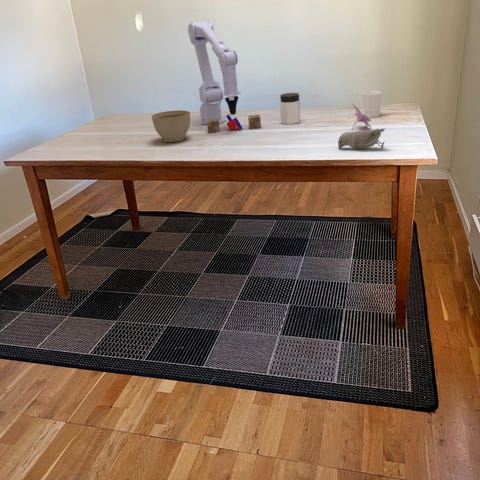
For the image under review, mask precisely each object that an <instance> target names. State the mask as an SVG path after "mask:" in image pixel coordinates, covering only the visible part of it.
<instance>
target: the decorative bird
mask: <svg viewBox="0 0 480 480" xmlns="http://www.w3.org/2000/svg"><path fill="white" fill-rule="evenodd" d="M385 130H386V127H385V128H376V129H368V130H367V129H365V130H356V131H352V132H351V131H346V132H345V131H344V132H343V133H341V134H340V136H339V138H338V141H337V147H338V149H341V148H343V147H347V146H348V147H350V148H352V149H366V148H370V147H371V148H372V147H373V146H375V145H378V146H379V147H380V150H383V147H384V145H385V141H383V142H380V140H379V139H380V137H381V135H382V133H384V132H385ZM380 144H381V145H380Z"/></svg>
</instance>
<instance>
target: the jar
mask: <svg viewBox="0 0 480 480" xmlns="http://www.w3.org/2000/svg"><path fill="white" fill-rule="evenodd" d="M279 98H280V101H279V109H280V110H279V111H280V123H281V124H284V125H295V124H299V123H300V122H301V100H300V94H299V93H298V92H287V93H282V94H280V97H279Z"/></svg>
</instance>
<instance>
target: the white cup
mask: <svg viewBox="0 0 480 480" xmlns="http://www.w3.org/2000/svg"><path fill="white" fill-rule="evenodd" d="M382 95H383V91H379V90H371V91H364V92H362V107H363V114H364V115H366V116H367V117H368V118H370V119H371V118H379V117H380V114H381V105H382Z"/></svg>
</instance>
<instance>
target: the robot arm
mask: <svg viewBox="0 0 480 480" xmlns="http://www.w3.org/2000/svg"><path fill="white" fill-rule="evenodd" d="M214 29H215V28H214V24H213V22H212V21H211V20H210V19H208V20H202V21H201V20H200V21H195V22H192V21H191V22H189V24H188V28H187V31H188V36H189V40H190V44H192V45H194V50H195V53H196V58H197V62H198V66H199V71H200V74H201V79H202V84H201V85H200V86H199V89H198V91H199V92H198V93H199V100H200V102H201V103H202V104H201V105H200V107H199V113H200V114H199V115H200V123H199V124H201V125H207V120H209V119H219V125H220V124H222V123H225V122H226V119H223V118H222V117H223V116H222V108H221V103H222V101H223V99H224V101H225V103H226V104H227V107H228V110H229V113H230V114H229V115H231V116H233V115H236V114H237V104H238V100H239V96H238V95H239V94H241V91H240V90H238V82H237V81H238V79H237V70H236V69H237V68H236V65H237V64H238V60H239V59H238V55H237V52H236V51H235V50H232V49H229V47H228V46H227V44H226V43H225V42H224V41H223V40H222V39H219V38H218V37H217V35H216V33H215V31H214ZM207 43H209V44H210V45H211V50H212V52H213V53H214V54H215V55H216V57H217V59H218V60H217V61H218V63H219V67H220V71H221V72H222V73H221V74H222V83H223V89H222V87H221V84H220V83H219V82H217V81H216V80H215V78H214V75H213V71H212V67H211V66H212V65H211V62H210V57H209V53H208V51H207ZM224 96H226V97H224Z"/></svg>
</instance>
